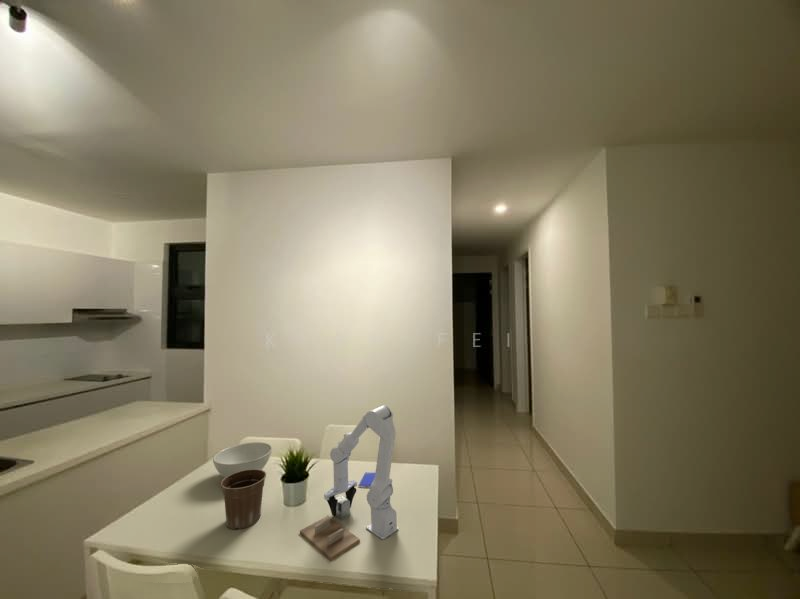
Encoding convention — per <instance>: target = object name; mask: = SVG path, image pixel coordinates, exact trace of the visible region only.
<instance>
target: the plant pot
mask: <svg viewBox="0 0 800 599" xmlns="http://www.w3.org/2000/svg"><path fill="white" fill-rule="evenodd" d="M266 477H267V472H266V471H265V470H263V469H262V470H259V469H248V470H243V471H239V472H236V473H233V474H231V475H229V476H227V477H226V478H225V477H223V479H222V480H221V481H220V487H221V488H222V495H223V499H224V508H225V509H224V510H225V523H226V527H227V528H229V529H232V530H236V529H245V528H249V527H250V526H252V525H254V524H256V523H257V522H258V521H259V519H260V517H261V514H262V503H263V502H262V501H263V492H264V487H265V480H266Z"/></svg>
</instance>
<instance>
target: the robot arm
mask: <svg viewBox="0 0 800 599" xmlns="http://www.w3.org/2000/svg"><path fill="white" fill-rule="evenodd" d="M393 418H394V413H393V411H392V410H391V408H390V407H388V406H387V405H384V404H381V405H379V407H376V408H373V409H372V410H369V411H367V412H366V413H365V415H363V416H362V418H361V420H360V421H359V422H358V424H357V425H356V426H355V428H354V429H353V431H348V432H345V433H344V435H343V438H342V439H341V441H338V443H337V446H336V447H333V448H331V450H330V452H329V456H330V460H331V462H332V463H333V487H332V488H330V489H329V490H328V491H327V492H325V493H324V494H323V496H324V497H323V498H324V499H323V500H325V501H327V503H328V506H329V509H330V513H331V515H332V516H333V517H337V516H336V506H337V501H338V500H337V499H335V497H336V496H338V495H342V494H344V493H345V497H346V498H347V499H349V500H350V509H351V508H352V504H353V499H354V497H355V494H356V493H357V488H356V487H358V481H357V480H356V479H352V480H349V458H350V456H351V453H352V451H353V450H354V449H355V448H356V447H357V445H358V444H359V442H360V439H359V438H360V437H361V436H362V435H363V434H364V433H365V431H367V430H368V429H371V431H373V433H375V434H376V435H377V436H379V444H378V452H377V458H376V459H377V460H376V466H375V467H376V468H375V472H374V473H375V478H374V480H373V482H372V484H371V486H370V488H369V490H368V492H367V494H366V501H367V504H368V505H369V507H370V517H371V518H370V523H369V524H368V525H367V526H366V527H365V528H366V530H368V531H369V532H371V533H372V534H374V535H375V536H377V537H378V538H380V539H381V540H385V539H387V538H388V537H389V536H390V535H393V533H395V532H396V531H398V530H399V527H398V526H397V522H398V521H397V511H396V510H395V509H394V507H393V506H392V504H391V497H392V495H393V493H394V486H393V479H392V478H391V477H390V476H391V468H392V461H393V454H394V447H395V440H396V429H395V425H394V421H393Z"/></svg>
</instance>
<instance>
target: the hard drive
mask: <svg viewBox="0 0 800 599" xmlns="http://www.w3.org/2000/svg"><path fill="white" fill-rule="evenodd" d="M374 478H375V472H367V471H366V472H365V473H363V476H362V478H361V480H360V482H359V484H357V488H363V489H364V488H365V489H370V486H371V484H372V482H373V480H374Z"/></svg>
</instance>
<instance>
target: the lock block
mask: <svg viewBox="0 0 800 599" xmlns="http://www.w3.org/2000/svg"><path fill="white" fill-rule="evenodd" d="M335 499H337V500H338V501H337V506H336V516H335V517H336V518H338V519H340V521H343V520H345V519H347V518H348V517H350V516H351V508H350V500H349V499H347V498H346V496H344V495H342V494H338V495H336V496H335Z"/></svg>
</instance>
